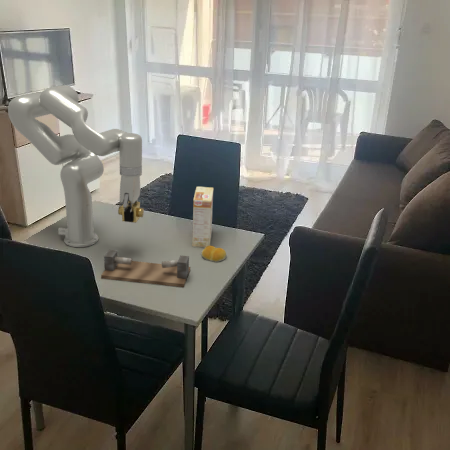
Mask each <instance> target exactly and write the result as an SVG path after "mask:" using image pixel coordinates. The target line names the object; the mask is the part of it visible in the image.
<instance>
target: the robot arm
mask: <svg viewBox="0 0 450 450" xmlns="http://www.w3.org/2000/svg"><path fill="white" fill-rule="evenodd" d="M79 100H80V99H79V95H78V92H77V91H76V89H74V88H73V87H71V86H70V85H66V84H65V85H58V86H51V87H48V88H45V89H44V90H42V91H37V92H32V93H27V94H26V93H25V94H21V95H17V96H16V97H14V98H12V99H11V100H10V101H9V104H8V106H7V113H8V118H9V120H10V122H11V124H12V126H13V127H14V129H16V131H18V132H19V133H20V134H21V135H22V136H23V137H24V138H25V139H27V140H28V141H29V142H30V143H31V145H33V146H34V148H35V149H36V150H37V151H38V152H39V153H40V154H41V155H42V156H43V157H44V158H45V159H46V160H47V161H48V162H49V163H50V164H52V165H54V166H60V165H63V164H64V165H63V166H62V167H61V169H60V174H59V175H60V181H61V183H62V187H63V192H64V200H65V201H64V204H65V213H66V215H65V216H66V224H67V225H66V226H67V227H66V228H64V227H58V230H57V232H58V235H59V236H64V239H63V241H64V243H65V245H67V246H68V247H69V246H70V247H73V248H85V247H90V246H92V245H94V244H96V243H97V242H98V241H99V235H98V234H97V233H96V232H95V231H94V230H95V229H94V214H93V196H92V193H91V191H90V189H89V188H88V184H90V183H91V182H94V181H96V180H97V179H100V178H101V177H102V175H103V174H104V172H105V171H104V170H105V168H104V164H103V162H102V160H101V158H100V157H106V156H108V155H111V154H113V153H116V152H119V175H120V182H119V183H120V184H119V203H120V204H122V205H123V208H124V221H123V222H125V221H126V222H125V223H134V222H133V211H132V209H133V203H135V202H139V201H138V199H139V197H140V196H141V176H142V175H143V139H142V138H143V137H142V136H141V135H140V134H137V133H133V132H127V131H124V130H122V129H119V128H112V129H108V130H105V131H103V132H100V133H99V132H97V131H96V130H94V129H93V128H92V127H90V126H89V125H88V124H87V123H86V122H87V119H88V116H89V112H88V111H89V110H88V109H87V108H86V107H84V106H83V105H82V104H80V103H79ZM47 115H52V116H53V117H55V118H56V119H58V120H59V121H61V122H62V123H63V124H65V125H66V126H68V127H69V128H71V131H72V134H63V135H61V136H60V135H58V134H56V133H55V132H54V131H53V130H52V129H51V128H50V127H49V126H48V125H47V124H45V123H44V122H42V121H39V120H38V119H37V118H38V117H39V118H40V117H44V116H47ZM98 156H99V157H98ZM128 201H131V203H128ZM128 205H130V207H129V206H128Z"/></svg>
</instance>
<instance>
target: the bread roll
mask: <svg viewBox="0 0 450 450" xmlns="http://www.w3.org/2000/svg"><path fill="white" fill-rule="evenodd" d="M200 255H201V257H202V258H203V259H204V260H206V261H211V262H212V263H213V262H214V263H215V262H216V263H218V262H221V261H224V260H225V259H226V258H227V252H226V250H225V249H223V248H222V247H215V246H213V245H210V246H207V247H204V248H203V249H202V250H201V253H200Z"/></svg>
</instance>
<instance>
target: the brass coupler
mask: <svg viewBox="0 0 450 450" xmlns="http://www.w3.org/2000/svg"><path fill="white" fill-rule="evenodd" d="M128 203H131V201H128ZM128 206H129V207H130V205H128ZM132 211H133V222H132V223H135V224H136V223H138V220H140V218H143V217H144V214H145V209H144V208H142V207H141V202H140V201H138V202H135V203H133V209H132ZM117 214H118V215H119V216H122V217H121V218H122V219H121V221H122V222H125V223H127V222H126V221H124V208H123V204H122V205H119V206H118V210H117Z"/></svg>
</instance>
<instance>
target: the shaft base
mask: <svg viewBox="0 0 450 450" xmlns="http://www.w3.org/2000/svg"><path fill="white" fill-rule="evenodd" d="M103 262H104V266H103V269H104V270H103V272H102V273H101V274H100V278H101V279H105V280H111V281H113V280H114V281H123V282H130V283H131V282H133V283H141V284H151V285H160V286H170V287H176V288H177V287H178V288H185V285H186V282H187V279H188V278H189V275H190V272H191V266H190V256H189V255H182V254H181V255H179V257H178V259H173V260H166V261H161V263H156V262H147V261H136V260H133V259H132V258H131V257H122V256H118V250H115V249H114V250H113V249H108V250H107V251H106V252H105V255H103Z"/></svg>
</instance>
